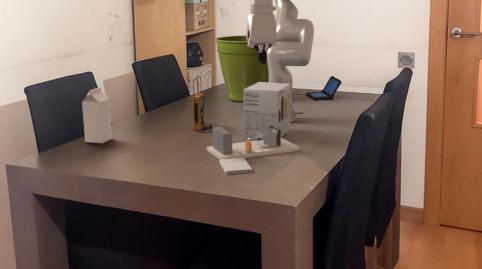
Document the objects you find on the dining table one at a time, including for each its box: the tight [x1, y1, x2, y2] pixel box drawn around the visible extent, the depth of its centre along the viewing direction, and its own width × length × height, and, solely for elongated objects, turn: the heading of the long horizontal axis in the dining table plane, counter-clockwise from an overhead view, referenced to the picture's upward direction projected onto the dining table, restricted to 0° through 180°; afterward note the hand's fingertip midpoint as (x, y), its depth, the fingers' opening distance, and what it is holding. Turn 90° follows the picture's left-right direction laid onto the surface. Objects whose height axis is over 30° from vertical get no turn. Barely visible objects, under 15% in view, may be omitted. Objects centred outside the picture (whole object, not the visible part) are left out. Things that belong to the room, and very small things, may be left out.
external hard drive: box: [218, 158, 254, 175], centre depth 195 cm, size 2×8×12 cm
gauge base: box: [206, 126, 301, 160], centre depth 212 cm, size 28×14×8 cm, turn 113°
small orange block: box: [244, 140, 252, 152], centre depth 206 cm, size 1×3×3 cm, turn 23°
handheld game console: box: [305, 75, 342, 102], centre depth 300 cm, size 16×13×9 cm
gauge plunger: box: [246, 125, 282, 148], centre depth 212 cm, size 10×10×6 cm
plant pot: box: [215, 35, 277, 103], centre depth 297 cm, size 30×30×29 cm
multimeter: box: [192, 76, 214, 134], centre depth 242 cm, size 15×10×20 cm
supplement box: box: [243, 82, 291, 139], centre depth 232 cm, size 17×13×18 cm
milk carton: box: [81, 86, 113, 144], centre depth 226 cm, size 7×7×19 cm
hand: (262, 63), depth 223 cm, fingers closed
